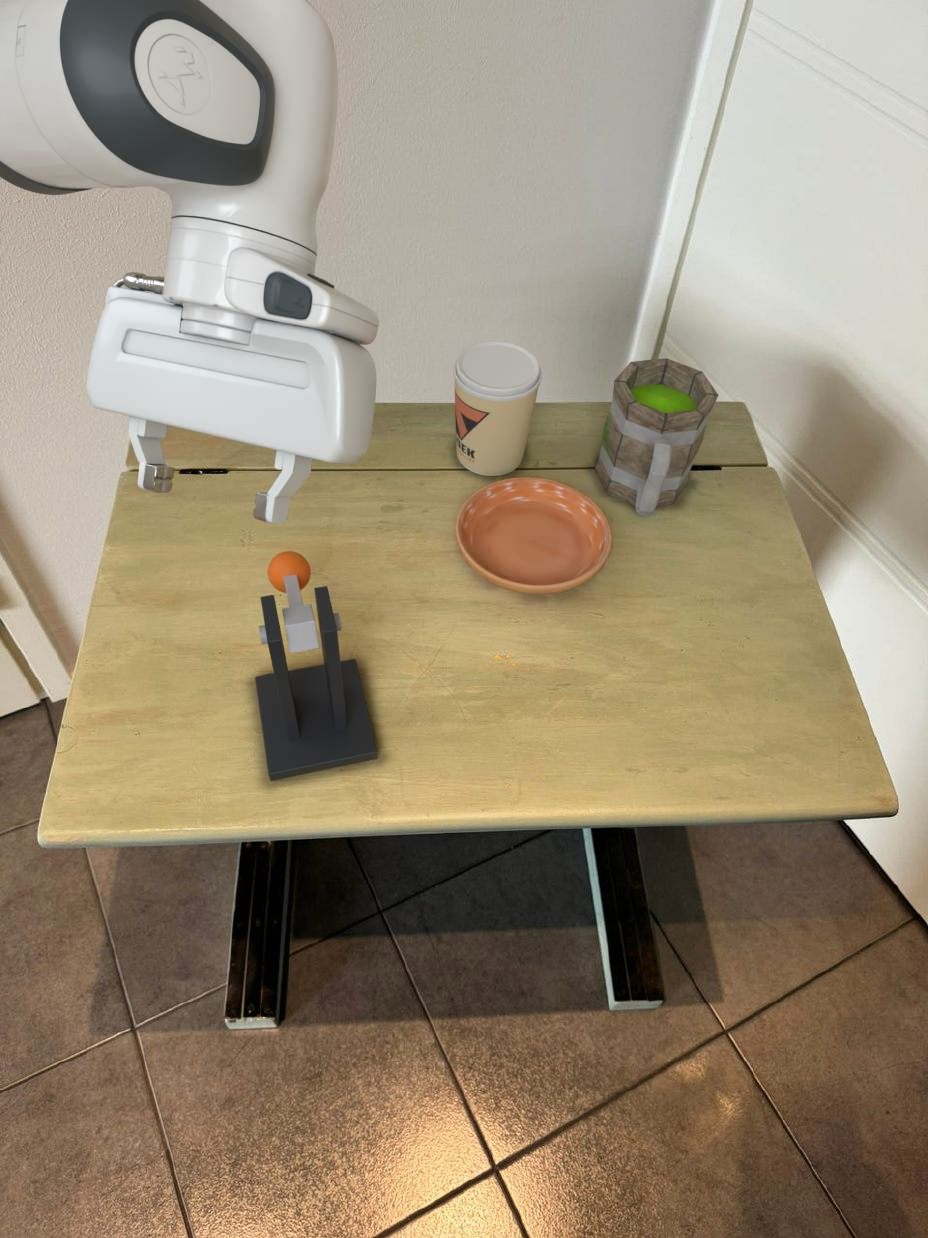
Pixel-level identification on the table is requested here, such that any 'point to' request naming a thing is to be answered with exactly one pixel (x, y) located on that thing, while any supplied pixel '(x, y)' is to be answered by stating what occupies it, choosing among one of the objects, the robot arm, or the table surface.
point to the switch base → (311, 702)
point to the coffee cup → (494, 405)
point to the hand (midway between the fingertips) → (210, 505)
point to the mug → (653, 432)
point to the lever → (294, 599)
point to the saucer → (533, 535)
